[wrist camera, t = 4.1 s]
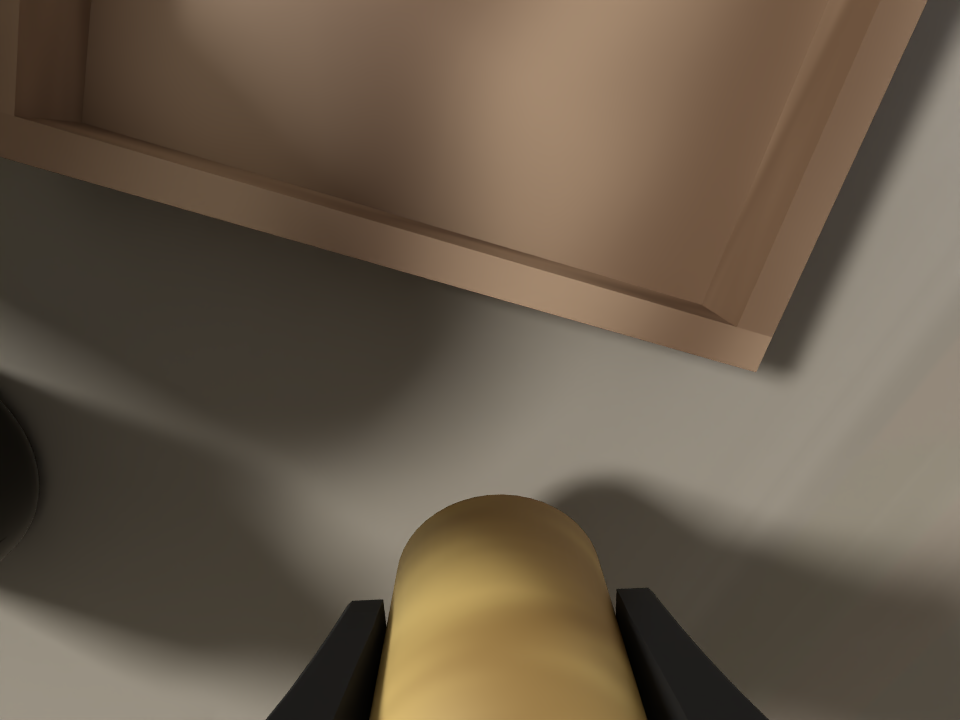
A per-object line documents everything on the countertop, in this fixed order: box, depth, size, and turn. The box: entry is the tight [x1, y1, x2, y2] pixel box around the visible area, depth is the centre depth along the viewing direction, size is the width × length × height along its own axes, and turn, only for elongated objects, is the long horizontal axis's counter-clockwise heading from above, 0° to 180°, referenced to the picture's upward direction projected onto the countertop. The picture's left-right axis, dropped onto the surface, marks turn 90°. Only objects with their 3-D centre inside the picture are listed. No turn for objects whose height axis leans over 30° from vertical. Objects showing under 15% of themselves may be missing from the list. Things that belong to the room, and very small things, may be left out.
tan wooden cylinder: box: [369, 495, 647, 720], centre depth 10 cm, size 4×4×6 cm
